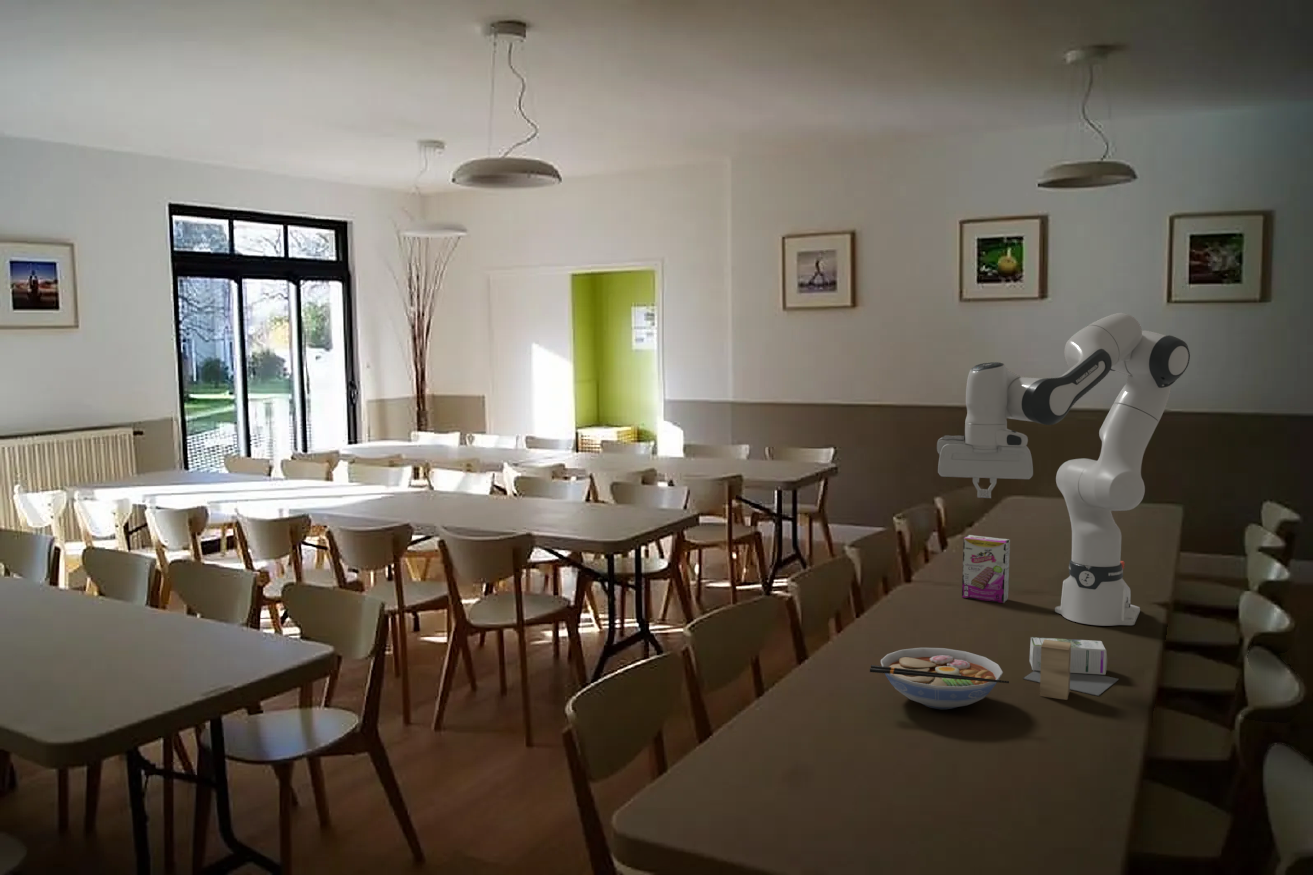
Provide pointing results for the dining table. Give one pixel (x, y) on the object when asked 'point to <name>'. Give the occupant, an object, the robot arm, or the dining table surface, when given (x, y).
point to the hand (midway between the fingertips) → (984, 497)
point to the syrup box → (1075, 655)
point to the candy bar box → (985, 568)
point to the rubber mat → (1082, 682)
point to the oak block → (1055, 669)
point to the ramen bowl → (940, 676)
